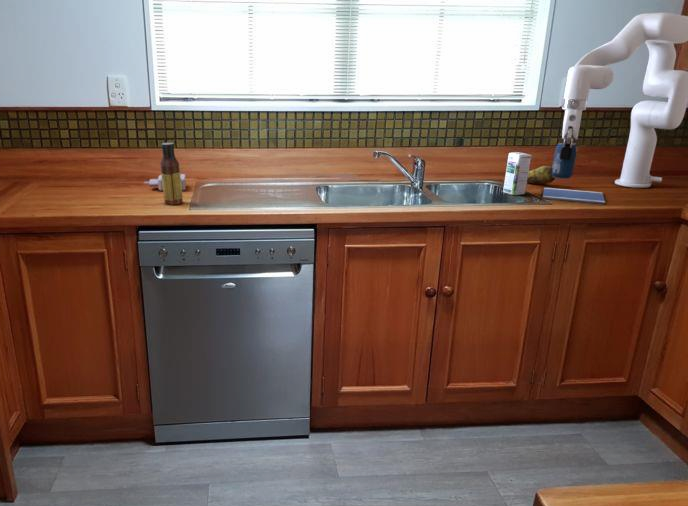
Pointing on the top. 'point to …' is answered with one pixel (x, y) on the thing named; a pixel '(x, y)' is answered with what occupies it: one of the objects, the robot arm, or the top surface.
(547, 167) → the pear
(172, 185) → the sauce bottle
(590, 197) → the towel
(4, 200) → the top surface
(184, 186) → the charger
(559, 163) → the soda can
